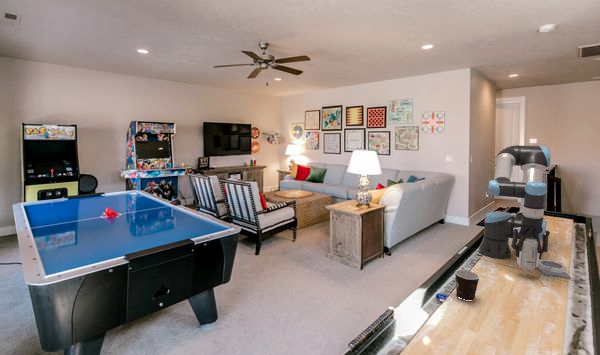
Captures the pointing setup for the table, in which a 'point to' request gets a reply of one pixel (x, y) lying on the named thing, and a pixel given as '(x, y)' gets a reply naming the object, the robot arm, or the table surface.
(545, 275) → the slate plate
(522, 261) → the energy drink can
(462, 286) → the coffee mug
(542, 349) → the table surface
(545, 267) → the steel collar
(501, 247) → the robot arm
